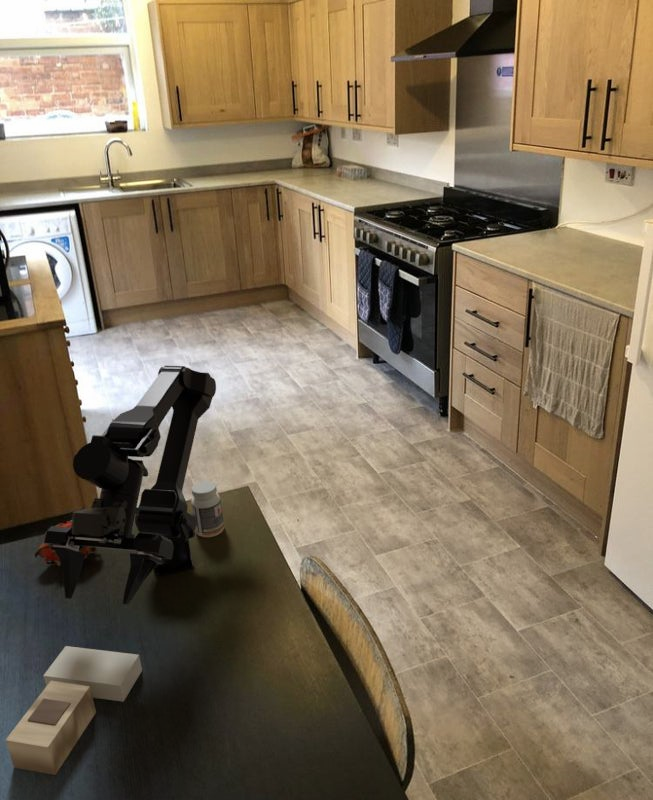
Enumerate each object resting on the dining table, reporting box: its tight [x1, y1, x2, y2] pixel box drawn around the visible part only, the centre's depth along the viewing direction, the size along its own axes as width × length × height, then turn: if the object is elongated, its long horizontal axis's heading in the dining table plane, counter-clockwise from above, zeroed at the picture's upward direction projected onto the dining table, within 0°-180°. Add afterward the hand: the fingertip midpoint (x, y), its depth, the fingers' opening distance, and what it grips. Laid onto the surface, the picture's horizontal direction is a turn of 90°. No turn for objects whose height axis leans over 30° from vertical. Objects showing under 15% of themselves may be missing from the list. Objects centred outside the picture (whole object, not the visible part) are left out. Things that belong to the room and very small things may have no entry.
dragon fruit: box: [34, 519, 100, 567], centre depth 130 cm, size 8×8×12 cm
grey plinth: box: [42, 645, 143, 703], centre depth 102 cm, size 6×12×3 cm, turn 78°
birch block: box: [5, 681, 97, 776], centre depth 93 cm, size 5×6×10 cm
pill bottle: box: [190, 480, 225, 538], centre depth 136 cm, size 6×6×10 cm
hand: (96, 601), depth 102 cm, fingers open, 9 cm apart
